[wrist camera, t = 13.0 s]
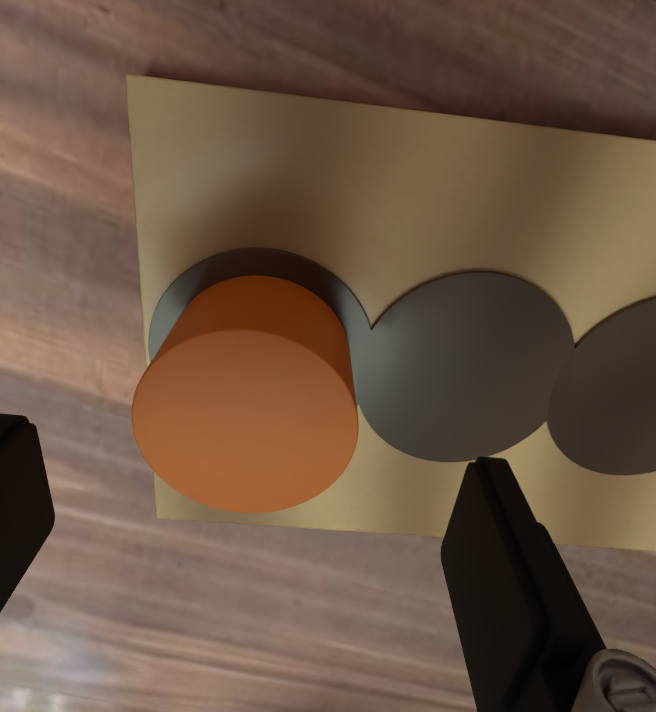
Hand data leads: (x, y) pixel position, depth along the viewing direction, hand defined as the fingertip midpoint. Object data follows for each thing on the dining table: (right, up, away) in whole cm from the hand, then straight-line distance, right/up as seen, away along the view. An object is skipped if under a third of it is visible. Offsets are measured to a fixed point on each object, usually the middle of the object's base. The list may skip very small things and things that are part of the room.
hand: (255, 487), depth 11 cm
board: (+6, +3, +8) cm, 10 cm away
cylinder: (-1, +3, +6) cm, 6 cm away
